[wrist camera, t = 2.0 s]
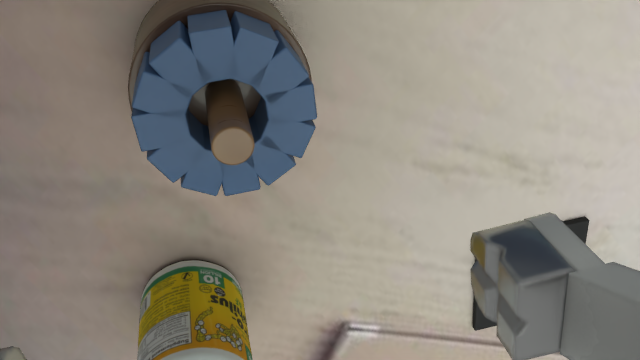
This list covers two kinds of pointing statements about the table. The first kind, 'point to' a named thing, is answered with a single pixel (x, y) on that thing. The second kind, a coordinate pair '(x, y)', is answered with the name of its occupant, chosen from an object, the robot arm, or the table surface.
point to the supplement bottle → (193, 315)
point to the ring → (215, 65)
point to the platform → (220, 96)
